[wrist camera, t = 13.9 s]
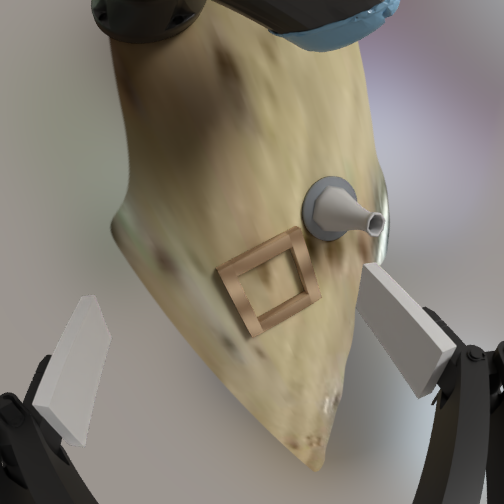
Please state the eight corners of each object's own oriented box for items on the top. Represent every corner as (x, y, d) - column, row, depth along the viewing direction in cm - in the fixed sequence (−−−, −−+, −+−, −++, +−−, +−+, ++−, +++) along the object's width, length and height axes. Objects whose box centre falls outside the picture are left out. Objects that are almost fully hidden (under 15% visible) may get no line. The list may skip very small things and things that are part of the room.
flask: (338, 238, 45) (380, 259, 36) (304, 221, 42) (345, 241, 33) (357, 197, 44) (402, 210, 35) (324, 177, 41) (370, 186, 32)
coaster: (307, 171, 40) (310, 171, 40) (359, 181, 44) (362, 182, 43) (297, 238, 43) (299, 239, 43) (348, 240, 47) (350, 242, 46)
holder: (215, 267, 40) (218, 271, 39) (295, 225, 42) (300, 228, 41) (249, 332, 46) (252, 338, 45) (317, 293, 48) (322, 297, 47)
